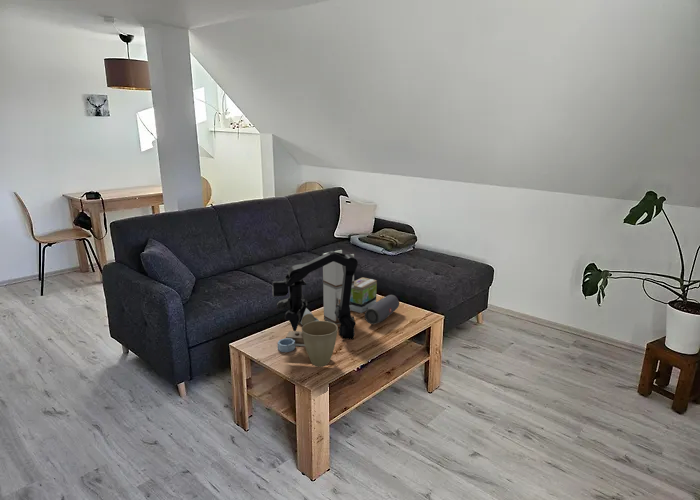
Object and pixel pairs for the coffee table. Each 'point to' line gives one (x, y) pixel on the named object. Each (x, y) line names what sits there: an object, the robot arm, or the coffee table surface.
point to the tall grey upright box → (333, 289)
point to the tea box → (363, 294)
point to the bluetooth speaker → (381, 309)
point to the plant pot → (319, 341)
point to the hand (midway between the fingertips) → (297, 326)
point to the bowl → (286, 345)
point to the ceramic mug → (308, 317)
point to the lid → (296, 336)
